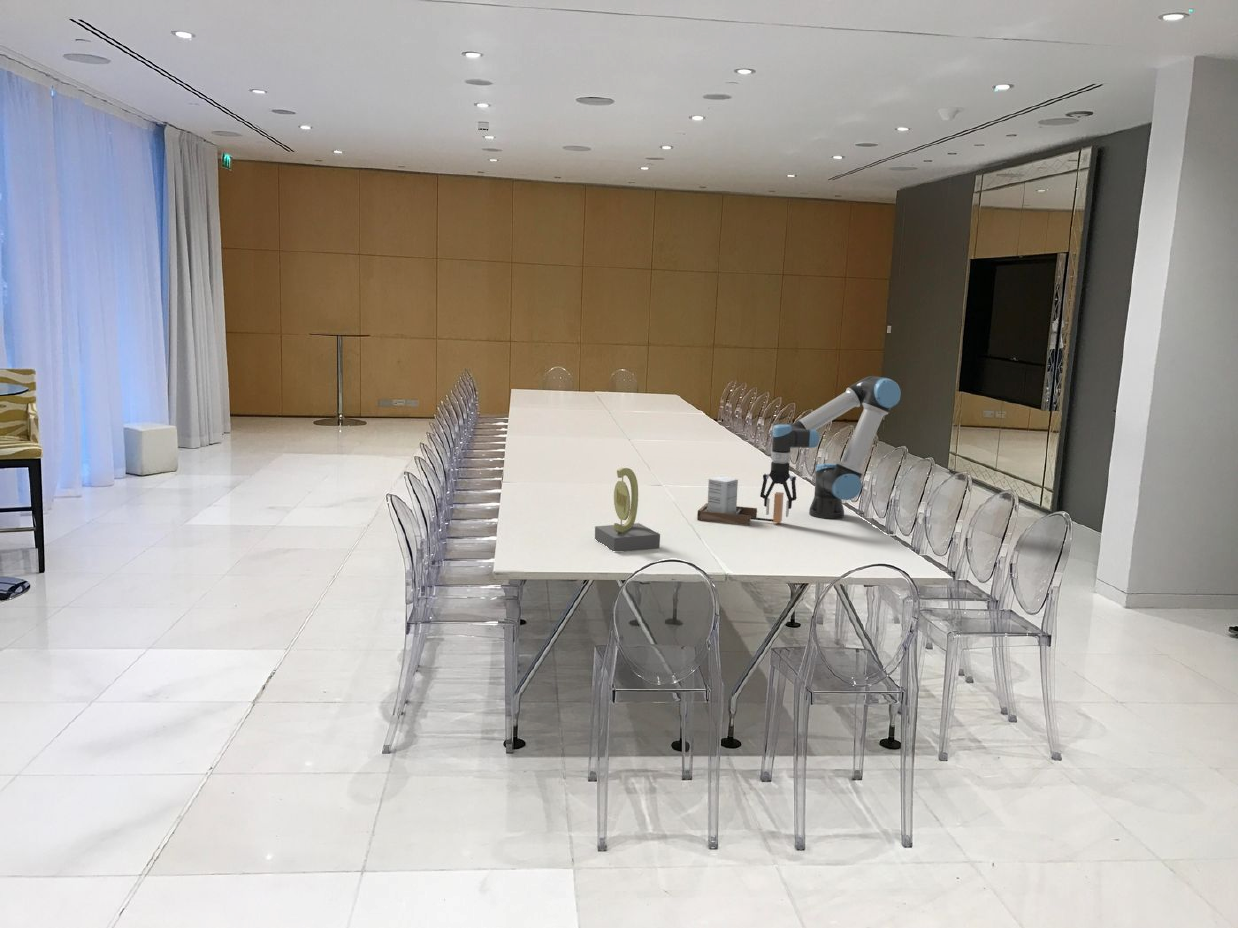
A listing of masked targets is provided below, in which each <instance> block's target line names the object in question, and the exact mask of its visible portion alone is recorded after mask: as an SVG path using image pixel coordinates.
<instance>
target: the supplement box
mask: <svg viewBox="0 0 1238 928" xmlns="http://www.w3.org/2000/svg"><path fill="white" fill-rule="evenodd" d="M738 484H739V479H737V478H733V477H726V476H716V477H712V478H709V479H708V487H707V488H708V489H707V503H708V506H707V511H710V512H720V513H730V514H735V513H736V506H738V504H737V501H738V486H739V485H738Z"/></svg>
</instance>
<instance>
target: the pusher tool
mask: <svg viewBox="0 0 1238 928" xmlns="http://www.w3.org/2000/svg"><path fill="white" fill-rule="evenodd" d="M783 508H784V492H780V491H779V492H778V491H775V493H774V499H773V516H772V517H773V518H763V517H756V518H755V517H751V519H750V520H752V521H761V522H762V521H763V522H771V523H776V524H781V522H782V521H783V510H784V509H783ZM704 511H707V509H706V510H704ZM735 514H740V515H742V509H740V508H736V513H735Z"/></svg>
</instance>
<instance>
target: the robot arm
mask: <svg viewBox="0 0 1238 928" xmlns="http://www.w3.org/2000/svg"><path fill="white" fill-rule="evenodd" d="M901 392H902V391H901V388H900V386H899V384H898V383H897V382H896V381H894V380H893V379H891V378H888V377H882V376H881V377H880V376H877V375H871V376H870V375H869V376H866V377H864V378H862V379H860V380H858V381H857V382H855V383H853V384H852V385H850V386H848V387H847V388H846V390H845V392H843V393H841V394H840V395H838V396H837V397H835V398H833V399H831V400H830V401H828V402H826V403H825V404H823V405H821V406H820V407H818V408H817V409H815V410H814V411H812V412H810V413H809V414H807V415H804V417H802V418H800V419H798V420H797V421H795V422H794V423H788V424H787V423H786V424H775V425H774V426H773V431H772V442H771V443H772V448H771V462H770V463H771V464H770V473H763V475H762V479H763V481H762V486H761V490H760V494H759V497H760V498H762V499H763V500H764V501H763V502H764V503H763V506H764V507H765V509H766V510H765V515H766V516H769V514H770V500H771V499H770V498H769V496H770V494H771V492H772V490H773V488H774V486H775V485H778V484H779V485H782V486H783V488H784V491H785V494H786V498H787V500H786V507H785V517H786V518H787V517H789V512H790V510H791V509H792V504H793V502H794V501H796V500H797V498H798V497H797V487H796V480H797V476H796V475H791V474H790V459H791V449H793V448H796V449H798V448H800V449H802V448H803V449H806V448H807V449H810V448H811V449H812V448H817V446H818V445H819V442H820V434H819V432H818V429H820V428H822V427H823V426H825V425H826V424H828V423H831V422H832V421H833V420H835V419H837V418H839V417H841V416H842V415H844V414H845V413H847V412H848V411H850V410H851V409H853V408H860V407H861V406H862V407H863V410H862V412H861V415H860V417H859V419H858V422H857V424H856V426H855V429H854V431H853V433H852V435H851V438H850V440H849V443H848V445H847V448H846V450H845V453H844V455H843V457H842V460H841V461H838V462H837V463H818V464H817V465H816V468H815V481H814V496H813V499H812V502H811V504H810V506H809V511H808V514H809V516H812V517H816V518H821V519H828V520H829V519H836V520H837V519H841V518H844V517H845V509H844V508H845V507H844V506H843V505H844V504H843V500H844V501H850V500H852V499H854V498H856V497H857V496H858V495H859V494H860V492H861V491H862V486H863V484H862V480H861V479H862V476H863V471H862V467H863V464H864V462H865V460H866V457H867V456H868V452H869V451H870V448H871V446H872V443H873V441H874V438H875V436H876V435H877V431H878V430H879V427H880V426H881V425H880V424H881V422H882V420H883V417H885V416H887V415H888V414H889V413H890V411H891V409H892V408H893V407H894V406H896V405H897V404H898V403H899V402H900V400H901V394H902V393H901ZM769 478H770V479H771V483H770V485H769V487H768V489H767V491H766V487H767V483H768V479H769ZM788 480H790V482H791V492H790V489H789V485H788V482H787V481H788ZM765 492H766V493H765Z"/></svg>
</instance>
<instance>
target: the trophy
mask: <svg viewBox="0 0 1238 928" xmlns="http://www.w3.org/2000/svg"><path fill="white" fill-rule="evenodd" d="M616 474H617V475H616V476H617V479H621V480H618V481H617V482H616V484H615V486H614V490H613V505H614V509H615V513H616V516H617V517H618V519H619V520H620V524H619V523H617V522H615V523H613V524H609V525H608V524H607V525H597V526H594V540H595V539H596V540H597V541H598V542H597V541H596V542H597V543H599V542H600V543H602V544H604V545H605V546H607V547H608V548H609V549H608V548H607V549H608V550H609V551H611V550H612V551H611V552H613V551H624V552H629V551H630V552H632V551H633V552H634V551H636V552H637V551H645V550H657V549H660V548H661V547H660V546H661V533H659V532H657V531H654V530H653V529H652V528H649V527H647V526H645V525H643V523H640V522H637V523H635V521H636V518H637V514H638V506H639V485H638V480H637V476H636V474H635V472H634V470H632V469H631V468H629V467H628V468H627V467H621V468H618V469H616ZM624 476H625V477H626V478H628V480H629V483H630V491H629V488H628V485H627V484H626V482H625V481H624ZM630 492H631V493H630ZM630 494H631V496H630ZM623 521H626V522H625V523H624V524H623ZM600 543H599V544H600ZM602 544H601V545H602ZM605 546H604V547H605Z"/></svg>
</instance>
